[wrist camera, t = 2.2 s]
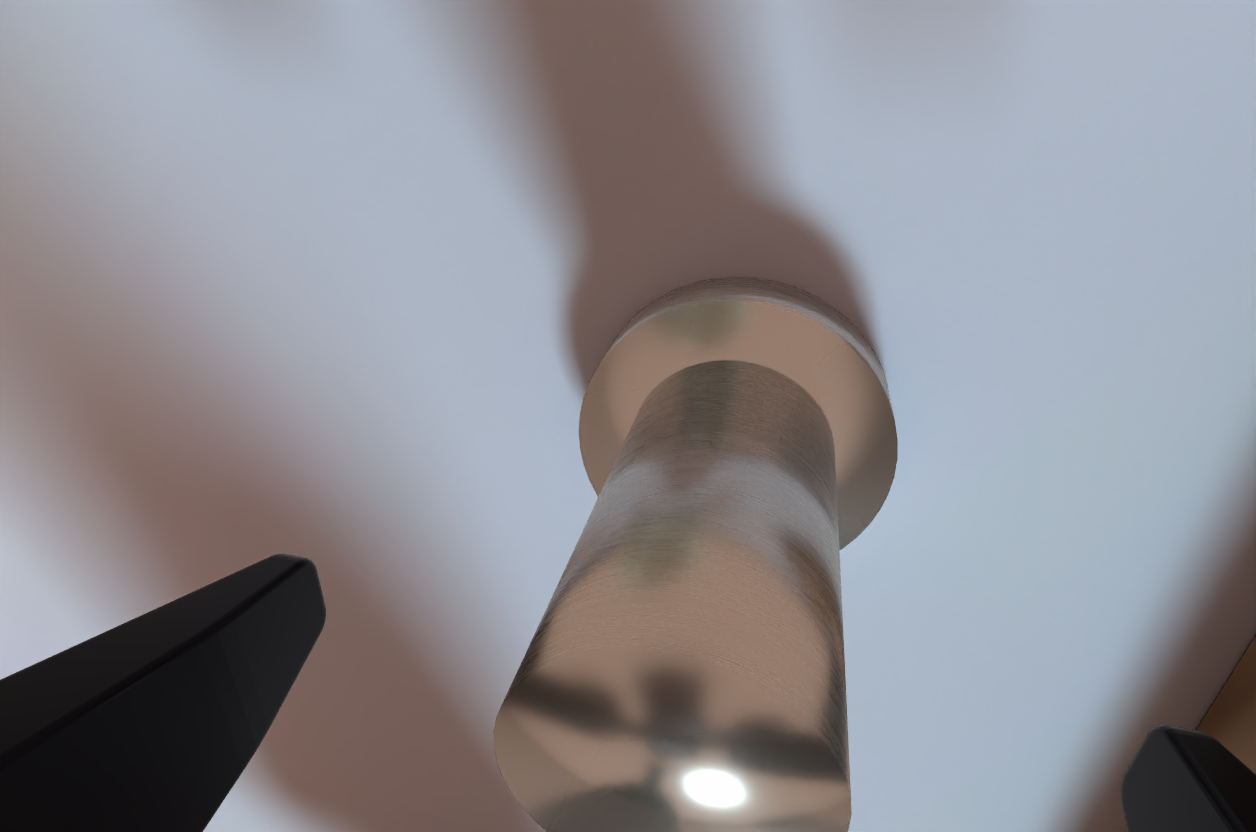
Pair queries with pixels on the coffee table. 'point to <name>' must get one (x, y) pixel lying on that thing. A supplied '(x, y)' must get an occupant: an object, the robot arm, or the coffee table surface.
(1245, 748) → the keyhole plate
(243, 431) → the coffee table surface
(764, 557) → the steel peg
